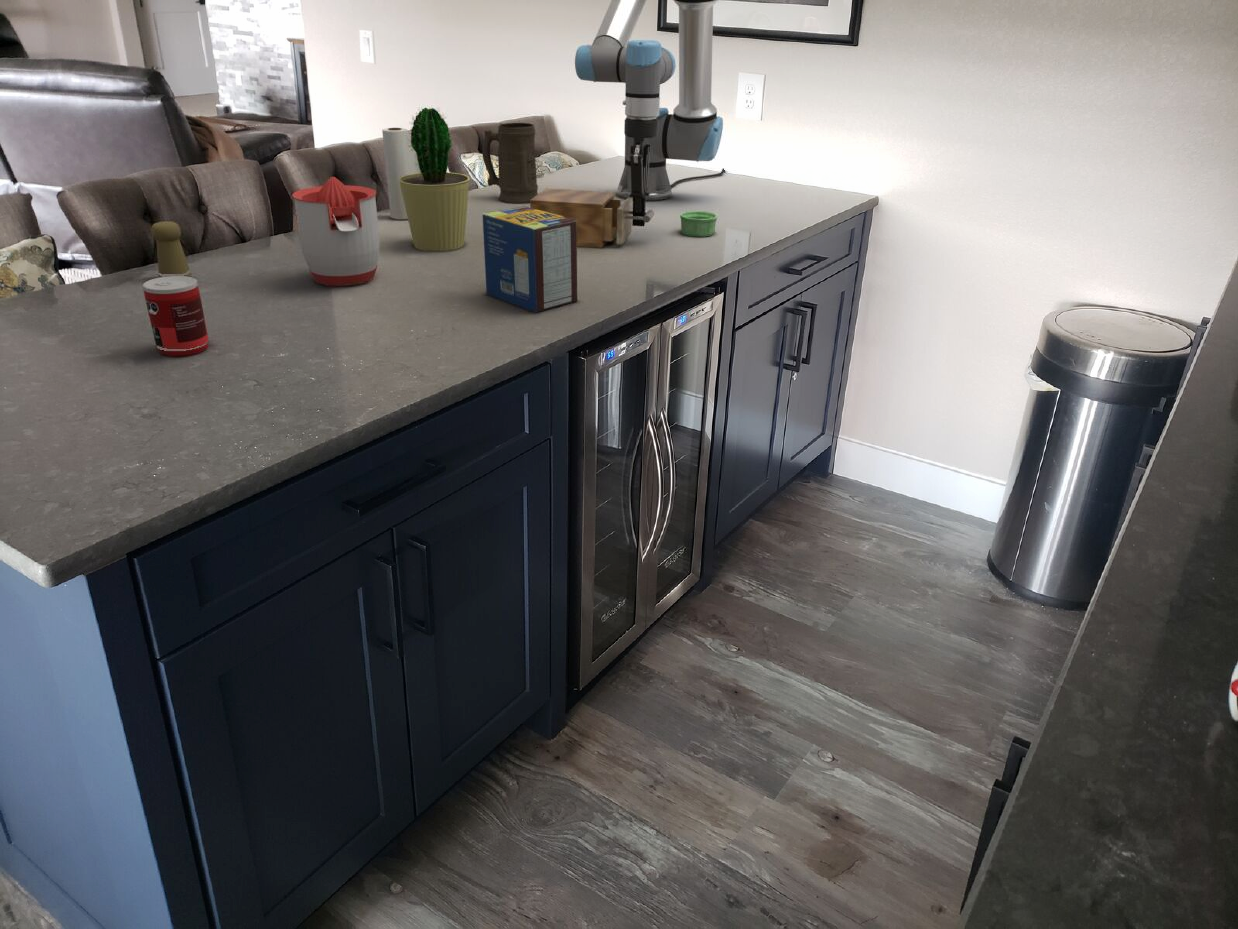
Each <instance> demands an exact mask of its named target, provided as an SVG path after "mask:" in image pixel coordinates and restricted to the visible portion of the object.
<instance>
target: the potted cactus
mask: <svg viewBox="0 0 1238 929" xmlns="http://www.w3.org/2000/svg"><path fill="white" fill-rule="evenodd" d="M418 110H419V111H418V113H417V114H415V116H414V115H411V118H412V119H411V122H409V125H410V128H409V130H411V140H410V141H411V144H412V145H411V146H412V147H413V148H412V149H413V150H415V152H416V157H417V160H418V164H419V165H418V164H417V163H416V164H417V165H418V166H419V168H420V173H415V174H409V175H405V176H402V177H400V178H399V181H400V187H401V191H402V195H403V200H404V204H405V208H406V213H407V217H408V219H407V221H408V224H409V229H410V234H411V238H412V243H413V246H414V248H415V249H418V250H420V251H427V252H447V251H454V250H459V249H461V248H462V247H464V245H465V238H466V227H467V225H466V224H467V215H468V214H467V213H468V201H469V191H470V190H469V189H470V180H471V177H470V176H469V175H467V174H464V173H458V172H449V171H448V170H450V169H451V168H450V167H449V163H450V162H449V157H450V158H453V155H452V154H451V153H450V150H451V151H454V150H453V149H452V147H453V145H452V141H454V140H455V138H453V135H452V134H453V133H455V131H452V132H449V131H450V130H449V129H450V127H449V125H448V123H447V122H446V121H445V119H446V118H447V116H445V114H444V113H441V110H440V108H438V107H436V108H434V107H429V108H427V107H418ZM444 116H445V117H444ZM408 133H409V132H408ZM409 134H410V133H409ZM451 138H453V139H451ZM407 139H408V138H407ZM408 141H409V140H408ZM409 143H410V142H409ZM411 146H408V147H411ZM412 149H411V150H412ZM415 160H416V159H415ZM415 162H416V161H415ZM452 162H453V160H451V163H452ZM414 166H415V165H414ZM416 168H417V167H416Z"/></svg>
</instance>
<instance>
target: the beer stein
mask: <svg viewBox="0 0 1238 929" xmlns="http://www.w3.org/2000/svg"><path fill="white" fill-rule="evenodd" d="M535 137H536V129H535V124H533V123H528V122H508V123H501V124H499V125H498V129H497V132H494V131H492V130H491V129H485V130H484V139H483V143H482V149H481V150H482V153H481V154H482V159H483V163H484V166H485V168H486V170H487V173H488V179H487V185H488V186H489V187H491V186H497V187H499V191H500V192H499V200H500V201H501V202H504V203H510V204H530V200H531V199H532V198H534V197H535V196H536V195H538V194H539V193H538V188H539V185H538V181H537V161H536V146H535V145H536V144H535V142H536V141H535V139H536V138H535ZM493 141H496V142H498V150H497V151H498V152H497V160H498V161H497V162H498V176H497V174H496V171H495V168H494V165H493V162H492V157H491V144H492V142H493Z"/></svg>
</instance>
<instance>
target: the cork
mask: <svg viewBox="0 0 1238 929" xmlns="http://www.w3.org/2000/svg"><path fill="white" fill-rule="evenodd" d="M150 231H151V235H152V238H153V239H154V241H156V253H157V255H156V256H157V266H158V278H160V277H162V276H160V275H159V273H161V274H183V273H186V272H187V271H189V270H190V269H191V268H190V266H189V262H188V261H187V258H186V255H185V251H184V249H183V246H182V243H181V241H180V238H181V234H182V232H181V228H180V225H179V224H178V223H177V222H174V221H167V220H166V221H159V222H155V223H153V224H152V226H151V228H150ZM184 276H186V277H191V278H193V275H192V272H191V270H190V273H189V274H187V275H184Z"/></svg>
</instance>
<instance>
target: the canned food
mask: <svg viewBox="0 0 1238 929" xmlns="http://www.w3.org/2000/svg"><path fill="white" fill-rule="evenodd" d="M142 291H143V295H144V300H145V304H146V308H147V312H148V317H149V321H150V325H151V330H152V334H153V339H154V343H155V346H156V345H157V346H159V347H162V348H167V349H190V348H195V347H197V346H202V345H203V344H205V343H206V342H208V339H209V334H208V328H207V324H206V318H205V313H204V308H203V302H202V298H201V292H200V287H199V283H198V280H197V279H196V278H194V277H192V278H191V277H186V276H168V277H160V278H159V277H156V278H152V279H149V280H147V281H145V282H144V283H143V284H142ZM209 342H210V341H209ZM209 342H208V343H207V344H206V345H204V346H202V347H199V348H196V349H192V350H186V351H164V350H160V349H158V348H157V347H156V349H157V351H158V352H159V354H161V355H164V356H166V357H167V356H169V357H187V356H194V355H197V354H200V353H202V352H204V351H206V350H207V349H208V348H209V344H210V343H209Z"/></svg>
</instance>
